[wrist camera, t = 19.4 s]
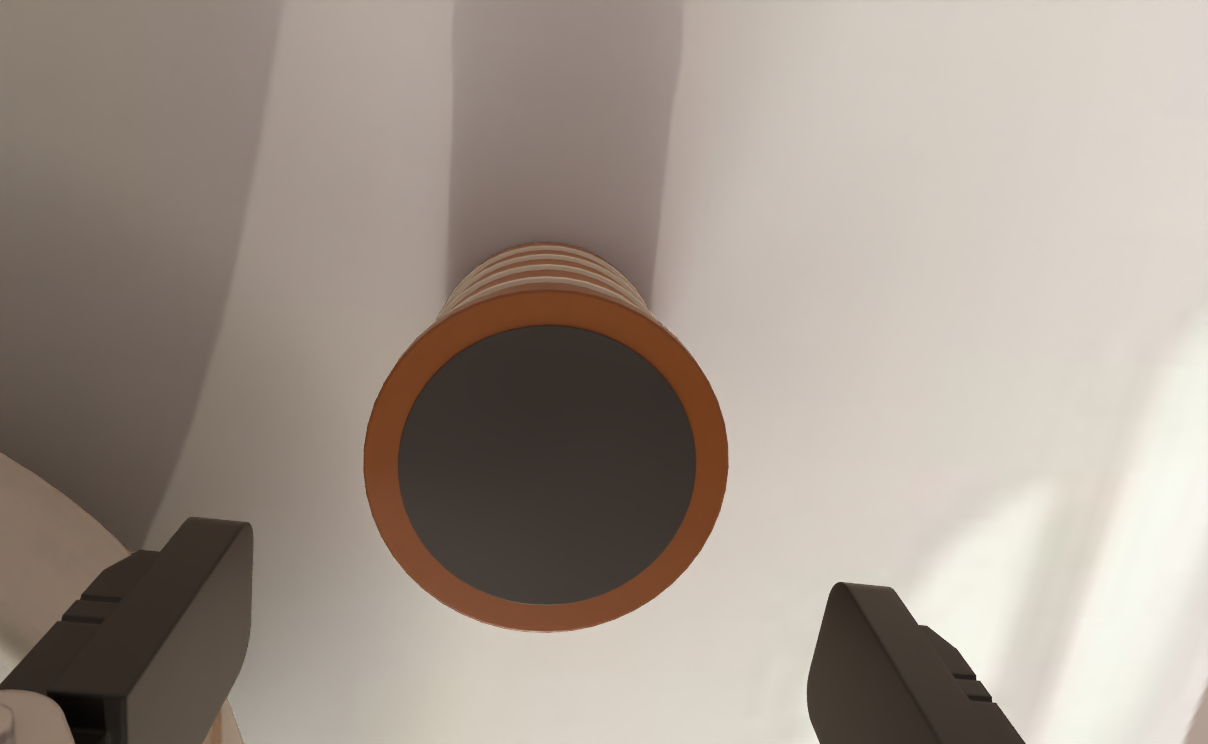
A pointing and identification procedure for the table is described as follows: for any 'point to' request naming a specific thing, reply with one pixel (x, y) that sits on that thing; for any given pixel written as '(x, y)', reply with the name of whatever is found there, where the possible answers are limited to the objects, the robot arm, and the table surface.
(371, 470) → the brown striped cylinder
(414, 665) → the table surface
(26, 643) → the decorative bowl
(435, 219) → the table surface
